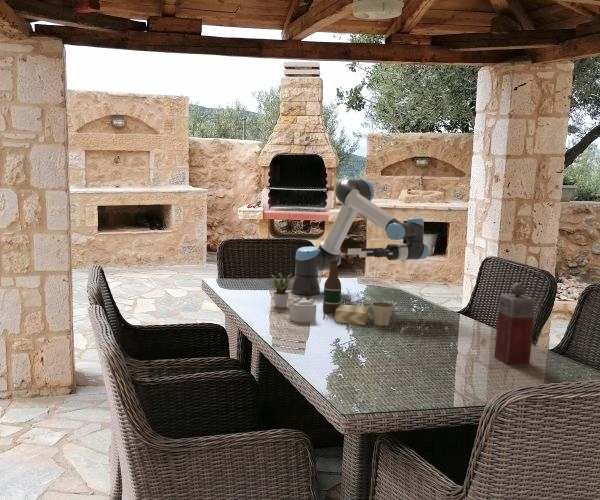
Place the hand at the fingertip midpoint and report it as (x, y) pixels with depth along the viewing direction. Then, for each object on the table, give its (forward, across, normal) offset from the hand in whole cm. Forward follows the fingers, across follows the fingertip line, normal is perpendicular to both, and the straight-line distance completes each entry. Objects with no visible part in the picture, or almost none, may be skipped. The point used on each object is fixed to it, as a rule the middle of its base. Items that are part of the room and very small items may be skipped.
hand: (353, 252), depth 303 cm
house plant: (+29, +14, -26) cm, 41 cm away
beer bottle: (+10, 0, -27) cm, 29 cm away
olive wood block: (+7, -16, -28) cm, 32 cm away
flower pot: (-3, -24, -29) cm, 38 cm away
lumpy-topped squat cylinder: (+28, -11, -27) cm, 40 cm away
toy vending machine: (-29, -80, -32) cm, 91 cm away
